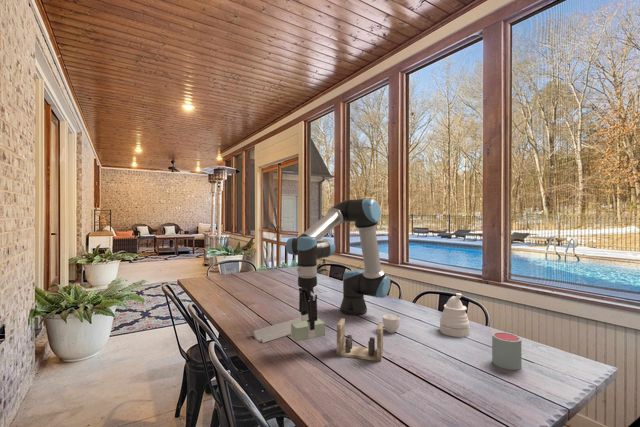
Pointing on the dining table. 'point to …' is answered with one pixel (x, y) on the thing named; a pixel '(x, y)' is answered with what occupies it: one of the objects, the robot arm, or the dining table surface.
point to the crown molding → (274, 331)
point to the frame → (359, 352)
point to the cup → (391, 322)
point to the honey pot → (455, 318)
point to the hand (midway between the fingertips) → (308, 334)
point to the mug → (506, 350)
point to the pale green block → (306, 330)
